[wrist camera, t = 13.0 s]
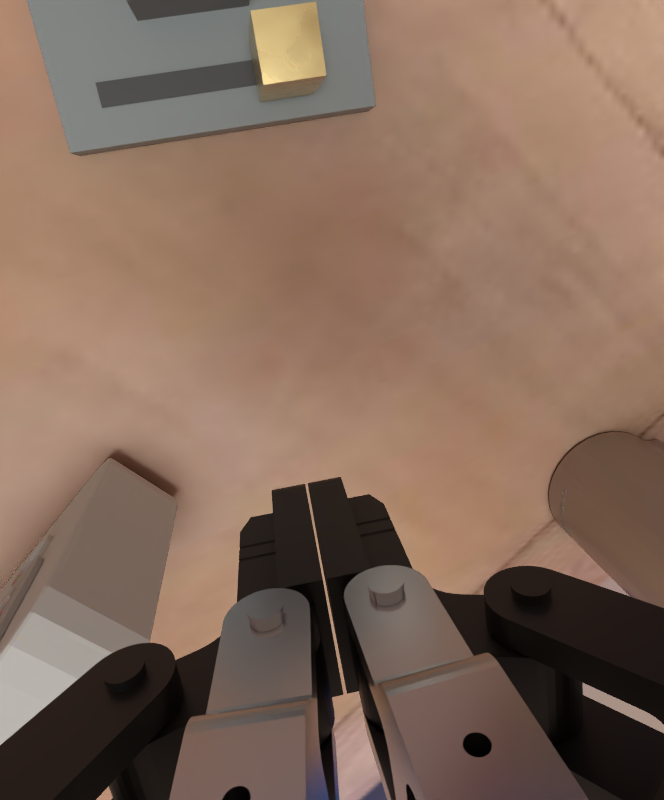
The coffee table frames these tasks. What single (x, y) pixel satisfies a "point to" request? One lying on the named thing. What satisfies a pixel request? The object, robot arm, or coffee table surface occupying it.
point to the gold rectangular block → (286, 51)
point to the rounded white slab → (83, 590)
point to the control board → (184, 69)
